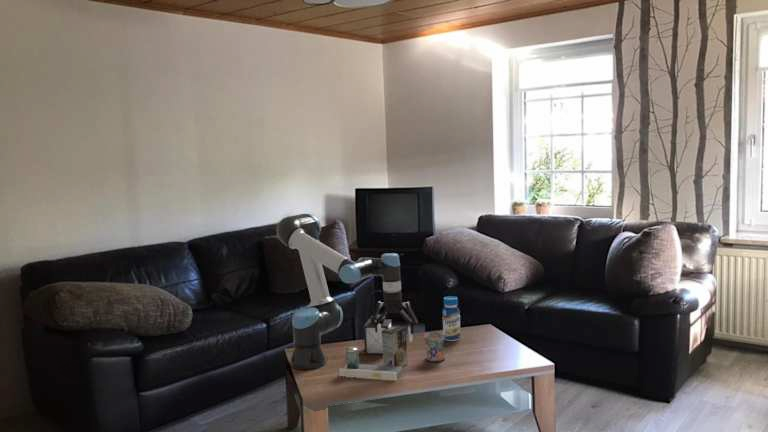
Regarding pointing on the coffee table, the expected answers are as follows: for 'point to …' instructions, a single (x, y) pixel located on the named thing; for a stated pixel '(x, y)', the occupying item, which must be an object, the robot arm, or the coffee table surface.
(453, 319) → the beverage bottle
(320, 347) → the robot arm
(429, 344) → the mug
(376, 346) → the lantern
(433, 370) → the coffee table surface
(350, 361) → the tea tin
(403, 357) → the coffee box
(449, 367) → the coffee table surface
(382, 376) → the shelf board
